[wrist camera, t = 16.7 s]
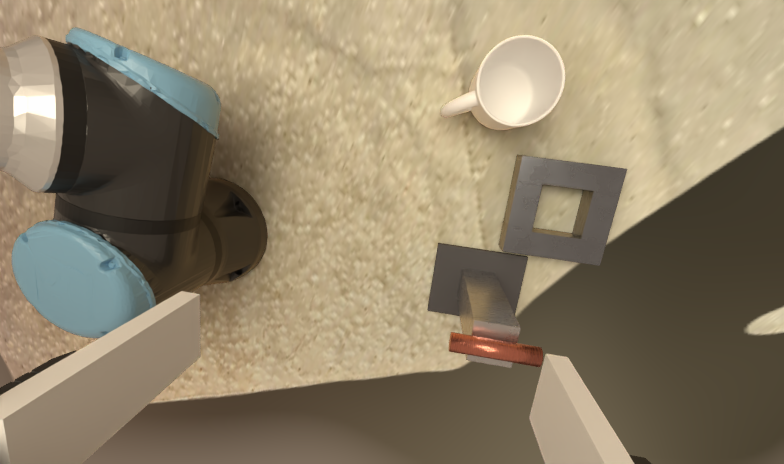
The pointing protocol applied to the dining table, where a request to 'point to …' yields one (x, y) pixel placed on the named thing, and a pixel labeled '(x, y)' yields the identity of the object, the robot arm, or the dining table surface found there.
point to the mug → (513, 84)
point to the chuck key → (489, 324)
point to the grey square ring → (591, 217)
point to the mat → (459, 257)
